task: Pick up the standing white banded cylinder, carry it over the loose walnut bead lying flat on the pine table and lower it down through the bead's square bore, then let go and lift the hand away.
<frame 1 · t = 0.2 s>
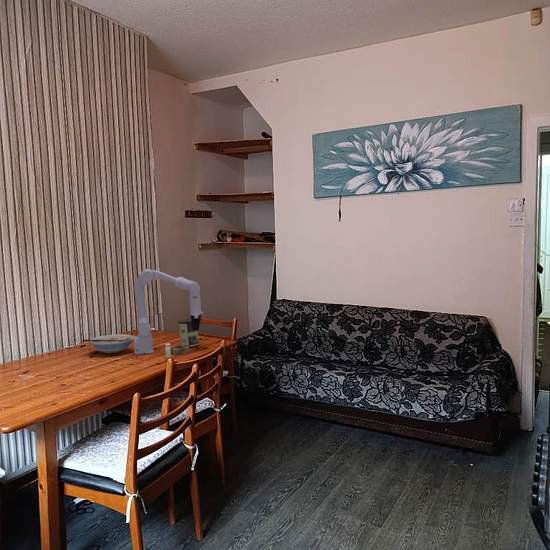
hand: (196, 329, 265), 10 cm above the table, tool pointing down, fingers open, 5 cm apart
white banded cylinder: (168, 357, 248), on the table
coffee can: (190, 345, 273), on the table, touching gripper
ramen bowl: (112, 352, 262), on the table
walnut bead: (179, 352, 257), on the table
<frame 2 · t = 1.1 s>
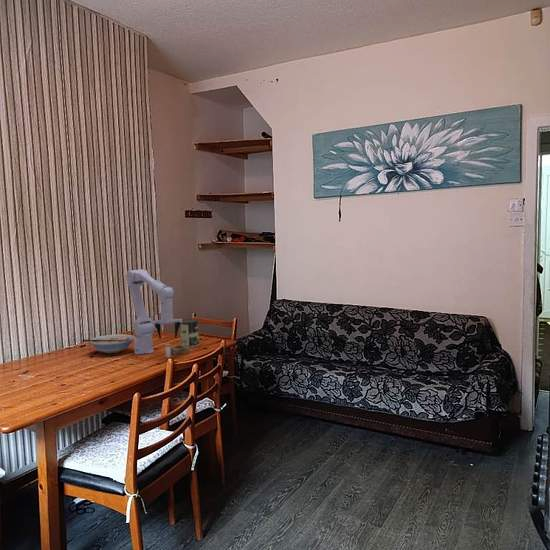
hand: (168, 338, 247), 10 cm above the table, tool pointing down, fingers open, 7 cm apart
coffee can: (190, 345, 273), on the table
everything else where it was.
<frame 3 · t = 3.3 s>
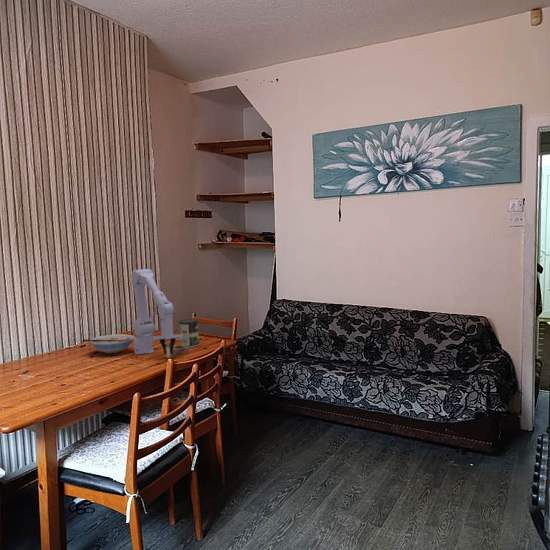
hand: (168, 353, 248), 2 cm above the table, tool pointing down, fingers closed on white banded cylinder, 2 cm apart
white banded cylinder: (168, 357, 248), on the table, touching gripper
everything else where it was.
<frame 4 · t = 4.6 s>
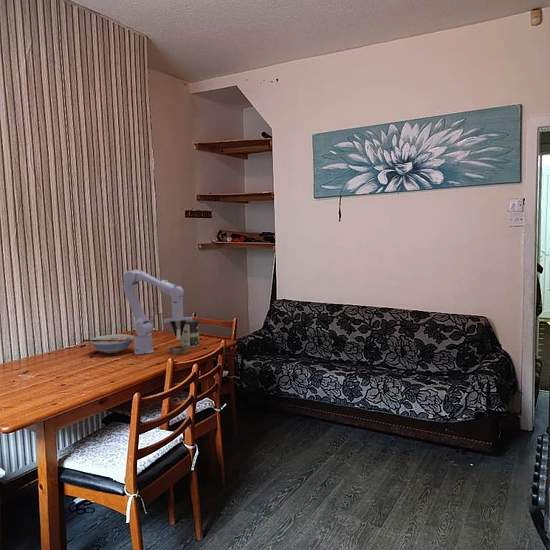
hand: (178, 335, 256), 9 cm above the table, tool pointing down, fingers closed on white banded cylinder, 2 cm apart
white banded cylinder: (178, 339, 256), point 7 cm above the table, touching gripper
everything else where it was.
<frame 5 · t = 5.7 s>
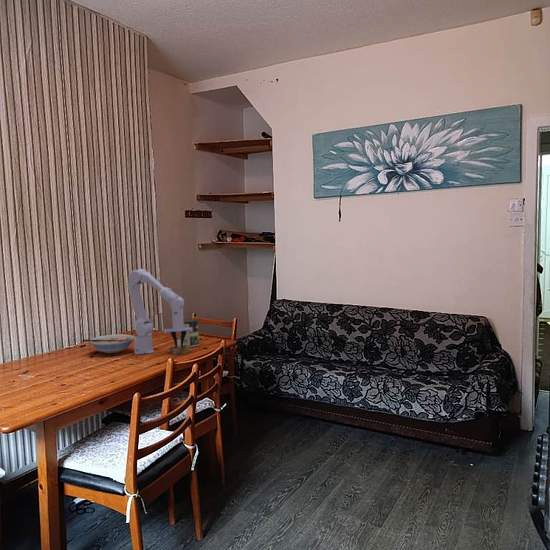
hand: (178, 345, 257), 4 cm above the table, tool pointing down, fingers closed on white banded cylinder, 2 cm apart
white banded cylinder: (179, 349, 257), point 2 cm above the table, touching gripper
when the fingers open (4 cm above the table, at t = 6.2 s): white banded cylinder drops 2 cm, resting in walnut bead.
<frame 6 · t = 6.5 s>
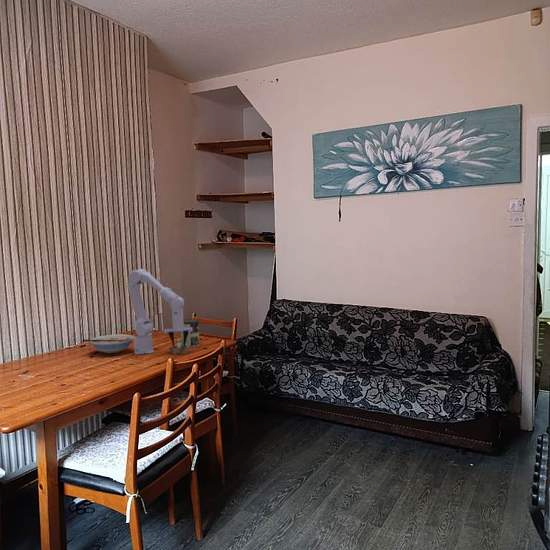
hand: (178, 345, 257), 4 cm above the table, tool pointing down, fingers open, 5 cm apart
white banded cylinder: (179, 352, 257), resting in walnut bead
everything else where it was.
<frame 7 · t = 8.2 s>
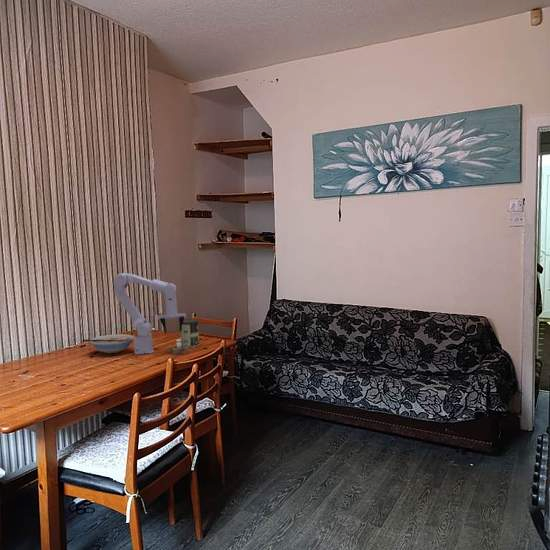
hand: (172, 331, 260), 10 cm above the table, tool pointing down, fingers open, 7 cm apart
nothing on the table moved.
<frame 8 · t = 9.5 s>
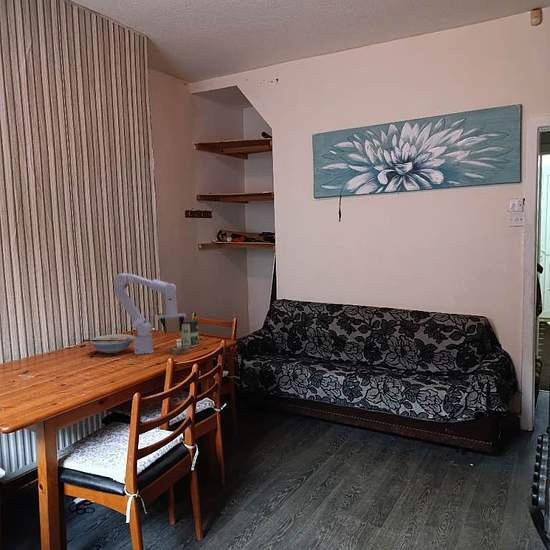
hand: (172, 331, 260), 10 cm above the table, tool pointing down, fingers open, 7 cm apart
nothing on the table moved.
at the end: white banded cylinder 0.2 cm off-centre on the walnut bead, point 0.0 cm above the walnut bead's base; white banded cylinder tilted 0°; the gripper is holding nothing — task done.
